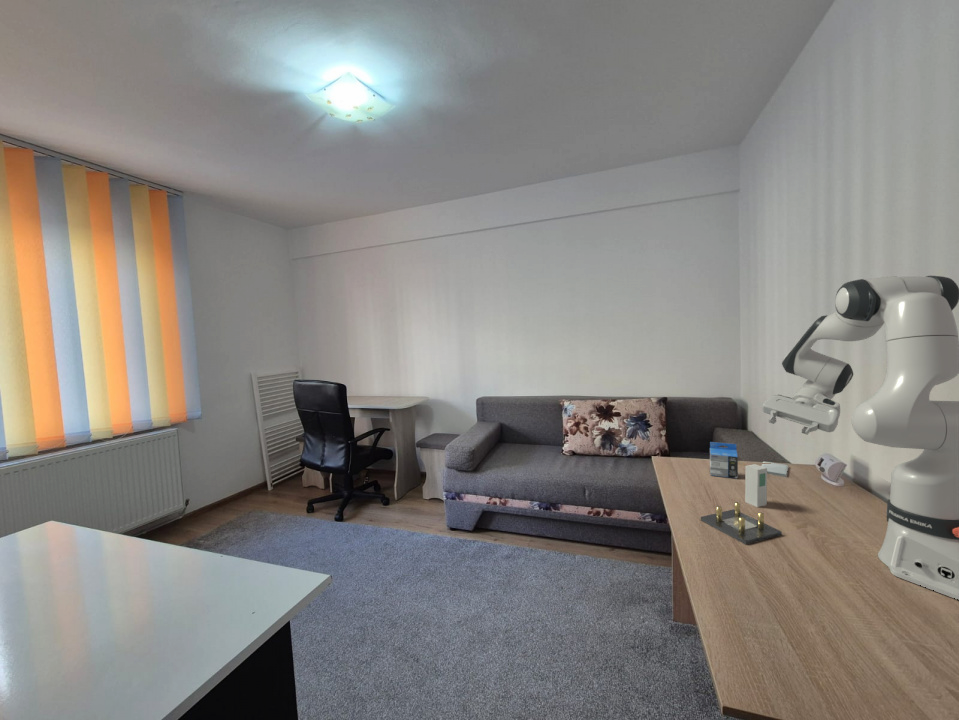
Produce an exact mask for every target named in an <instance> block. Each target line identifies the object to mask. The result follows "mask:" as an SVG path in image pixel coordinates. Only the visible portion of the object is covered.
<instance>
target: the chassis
mask: <svg viewBox="0 0 959 720" xmlns="http://www.w3.org/2000/svg"><path fill="white" fill-rule="evenodd" d="M700 521H702V522H704V523H705V524H707V525H709V526H711V527H712V528H714V529H716V530H718V531H720V532H721V533H723V534H725V535H728V536H729V537H731V538H733V539H735V540H736V541H738V542H740V543H742V544H744V545H749V544H754V543H757V542H761V541H764V540H768V539H772V538H776V537H779V536H783V533H782V530H780V529H777V528H775V527H773V526H771V525H769V524H767V523H765V513H764V512H757V519H756V518H753V517H751V516H750V515H748V514H745V513H743V512H741V503H740V502H738V501H734V509H733V508H732V509H729V510H724V511H723V508H722V506H720V505H717V506H715V513H713V514H712V513H711V514H708V515H703V516H700Z"/></svg>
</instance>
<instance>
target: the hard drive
mask: <svg viewBox="0 0 959 720" xmlns="http://www.w3.org/2000/svg"><path fill="white" fill-rule="evenodd" d="M762 463H771V464H762ZM762 463H761V465H760V466H762V467H765V468H767V473H768V474H767V475H770V474H772V475H771V476H776V475H777V476H776V477H783V478H788V477H787V476H788V472H787V471H789V465H788V464H784V463H783V464H782V463H779V462H777V463H776V462H771V461H762Z"/></svg>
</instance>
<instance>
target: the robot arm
mask: <svg viewBox="0 0 959 720" xmlns="http://www.w3.org/2000/svg"><path fill="white" fill-rule="evenodd" d="M834 299H835V300H834V304H835V305H834V306H835V311H834V312H833V313H830V314H828V315H827V314H825V315H821V316H820V317H818V318H816V320H815V321H814V322H813V323H812V324H811V325H810V327H809V328H808V329H807V330H806V331H805V333H804V334H803V335H802V336H801V337H800V339H799V340H798V342H797V343H796V344H795V345H794V346H793V347H792V348H791V349H790V350H789V351H788V352H786V354H785V355H784V357H783V358H782V362H781V366H782V367H783V370H784V371H785V372H786V373H787V374H791V375H794V376H797V377H801V378H803V379H804V380H806V381H805V382H804V383H803V385H802V387H800V388H799V389H797V391H796V392H795V394H794V395H793V396H792V397H790V396H785V395H782V394H772V395H771V396H769V398H767V399H766V400H765V401H764V402H763V403H762V405H761V406H762V407H761V408H762V409H761V410H762V412H763V413H765V414H768V415H770V417H769V419H768V423H770V424H776V423H777V418H781V419H784V420H788V421H790V422H793V423H797V424H800V425H804V426H803V427H802V429H801V434H804V435H809V434H810V433H812V432H816V431H818V430H820V431H823V432H826V433H832V432H835V430H836V428H837V427H838V424H839V418H840V416H841V405H840V403H839V402H837V401H835V400H833V398H834V397H835V395H836V394H840V393H842V392H843V391H844V389H845V388H846V387H847V386H848V385H849V384H850V382H851V380H852V379H853V377H854V371H853V369H852V366H851V365H850V363H847V362H845V361H843V360H840V359H837V358H834V357H831V356H828V355H826V354H823V353H820V352H818V351H815V350H814V349H812V347H813V346H814V345H815V343H817V341H821V340H833V341H840V342H841V341H842V342H859V341H862V340H867V339H869V338H871V337H873V336H875V335H876V334H877V333H878V332H879V330H881V328H882V327H883V326H884V327H885V329H884V330H885V331H884V334H885V335H884V338H885V351H886V371H885V372H886V373H885V378H884V380H883V382H882V384H881V385H880V387H879V389H878V390H877V391H876V392H875V393H874V394H873V395H872V396H870V397H869V398H868V399H867V400H865V401H863V402H860V404H858V405H857V406H856V407H855V408H854V409H853V412H852V415H851V418H850V419H851V426H852V429H853V431H854V432H855V433H856V435H857V436H858V438H860V439H861V440H863V441H864V442H867V443H870V444H875V445H879V446H884V447H889V448H897V449H898V448H900V449H914V450H917V449H918V450H923V451H922V452H921V453H920V454H919V455H918V456H917V457H916V458H914V459H912V460H909V461H906V462H903V463H900V464H897V465H896V466H895V467H894V468H893V470H892V471H891V474H890V493H889V494H890V495H889V496H890V497H889V499H888V500H887V502H886V503H887V504H886V521H887V526H886V527H887V528H886V532H885V536H884V540H883V542H882V544H881V547H880V549H879V551H878V553H877V556H878V558H879V560H880V561H881V562H882V563H883V564H884V565H885V566H887V568H888V569H889V571H890V573H891V574H892V575H893V576H895V577H897V578H900V579H902V580H905V581H907V582H911V583H913V584H915V585H918V586H920V585H921V587H924V588H925V587H926V589H929V590H931V591H933V590H934V592H937V593H939V594H940V595H941V594H942V595H944V596H947V597H950V598H952V599H954V598H955V599H954V600H957V599H958V601H959V400H930V395H931V391H932V390H933V388H934V387H935V386H938V385H941V384H944V383H947V382H949V381H951V380H953V379H954V378H956V377H957V376H959V333H958V328H957V323H956V320H955V316H954V313H953V310H954V309H955V308H956V307H957V306H958V303H959V286H958V285H957V283H956V282H955V281H954V279H952V278H951V277H946V276H942V275H941V276H940V275H927V276H893V275H892V276H885V277H884V276H881V277H875V278H874V277H873V278H865V279H864V278H861V279H860V278H859V279H856V280H851V281H847V282H845V283H844V284H842V285H841V286H840V287H839V288H838V290H837V291H836V295H835V298H834Z"/></svg>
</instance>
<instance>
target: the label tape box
mask: <svg viewBox="0 0 959 720" xmlns="http://www.w3.org/2000/svg"><path fill="white" fill-rule="evenodd" d="M723 446H724V447H723ZM737 446H738V445H737V443H727V442H716V441H715V442H714V441H710V442H709V474H710V476H711V477H721V478H728V477H729V478H731V479H737V478H738V477H739V466H738V465H739V464H738V463H739V457H738V451H737Z"/></svg>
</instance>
